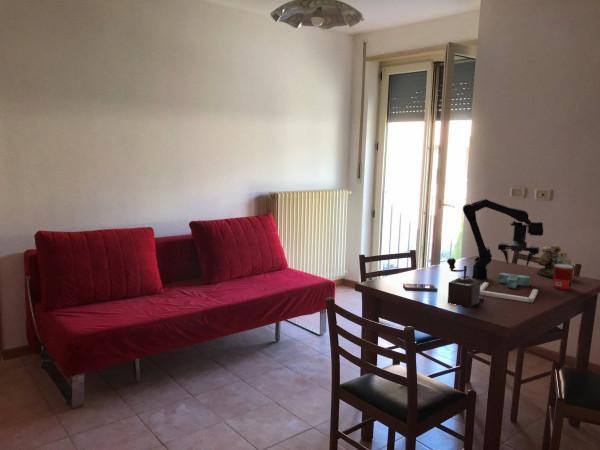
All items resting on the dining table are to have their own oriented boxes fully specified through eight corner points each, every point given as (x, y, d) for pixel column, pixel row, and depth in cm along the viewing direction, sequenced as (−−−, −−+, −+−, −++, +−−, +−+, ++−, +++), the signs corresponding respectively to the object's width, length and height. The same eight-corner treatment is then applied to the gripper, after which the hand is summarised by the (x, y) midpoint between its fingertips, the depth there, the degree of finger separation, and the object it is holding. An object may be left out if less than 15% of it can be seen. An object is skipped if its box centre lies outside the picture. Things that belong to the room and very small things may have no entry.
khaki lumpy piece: (530, 274, 267) (532, 243, 265) (540, 271, 275) (542, 240, 272) (565, 281, 253) (568, 248, 251) (575, 277, 261) (578, 245, 259)
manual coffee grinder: (480, 302, 217) (483, 262, 214) (469, 308, 209) (472, 266, 206) (447, 295, 227) (449, 256, 225) (435, 300, 219) (438, 260, 217)
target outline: (475, 293, 230) (476, 290, 230) (483, 284, 245) (484, 282, 245) (532, 302, 217) (532, 299, 217) (537, 292, 233) (537, 289, 232)
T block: (495, 285, 244) (496, 277, 243) (499, 280, 254) (500, 272, 254) (526, 290, 237) (527, 281, 236) (529, 284, 247) (530, 276, 246)
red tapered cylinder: (573, 290, 237) (575, 268, 235) (555, 289, 239) (557, 267, 237) (568, 286, 244) (570, 264, 243) (550, 285, 246) (552, 263, 244)
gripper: (497, 235, 249) (494, 265, 252) (538, 239, 240) (535, 270, 242) (501, 231, 259) (498, 261, 261) (540, 235, 249) (537, 266, 251)
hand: (517, 264), depth 254 cm, fingers open, 9 cm apart
